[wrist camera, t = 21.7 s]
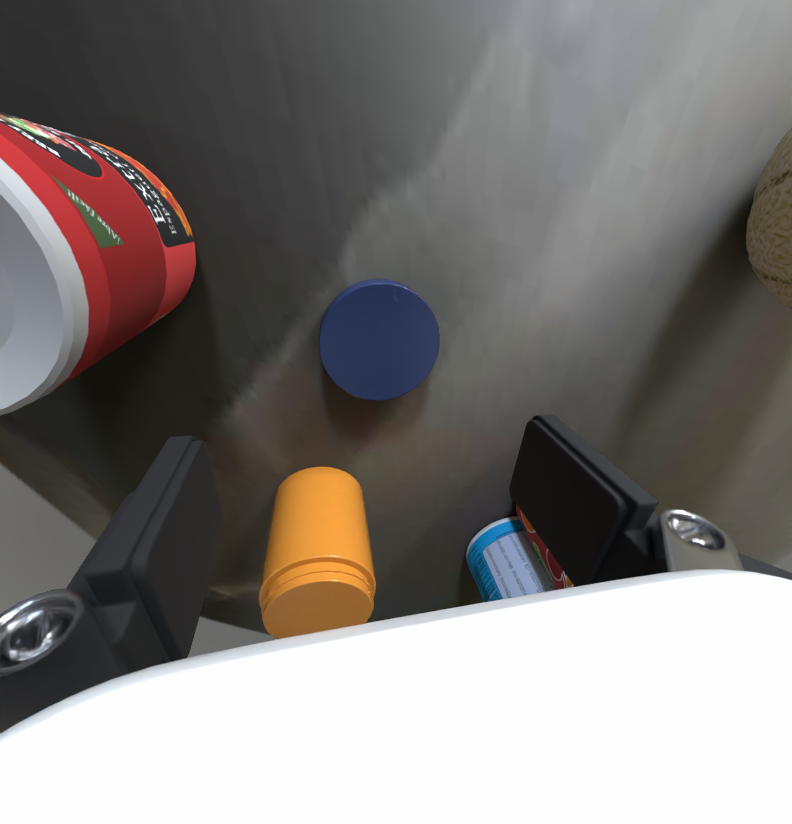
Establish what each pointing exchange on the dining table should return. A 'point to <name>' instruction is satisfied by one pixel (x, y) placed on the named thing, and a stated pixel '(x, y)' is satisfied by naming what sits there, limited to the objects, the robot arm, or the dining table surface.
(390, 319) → the lid
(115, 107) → the dining table surface
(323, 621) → the jar
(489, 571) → the beverage bottle
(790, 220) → the cantaloupe
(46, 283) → the canned food
